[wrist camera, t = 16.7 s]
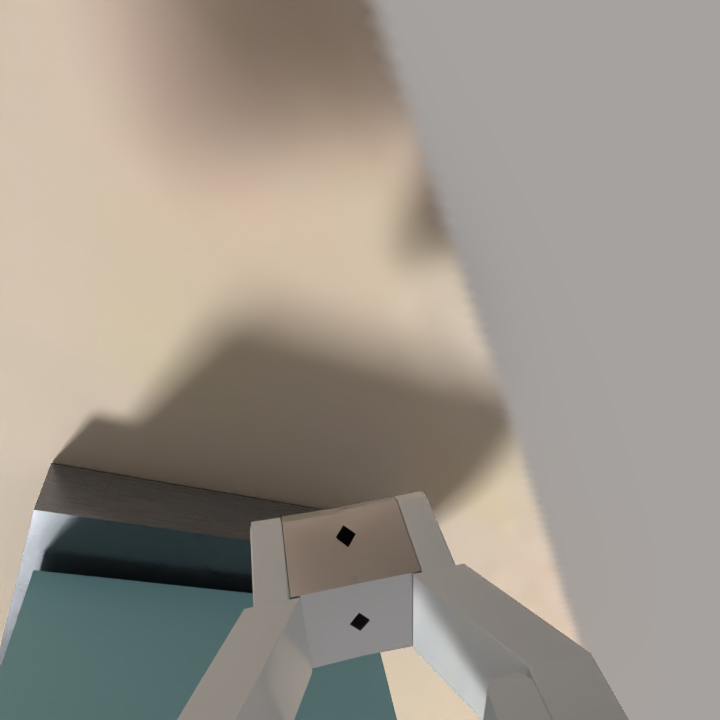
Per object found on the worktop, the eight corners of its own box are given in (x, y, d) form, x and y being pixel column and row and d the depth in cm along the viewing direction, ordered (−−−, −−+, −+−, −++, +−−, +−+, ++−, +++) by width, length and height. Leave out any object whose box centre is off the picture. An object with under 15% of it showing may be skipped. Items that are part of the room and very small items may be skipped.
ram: (326, 670, 17) (357, 857, 13) (12, 653, 14) (-67, 892, 10) (368, 605, 16) (414, 791, 12) (33, 570, 13) (-48, 807, 9)
